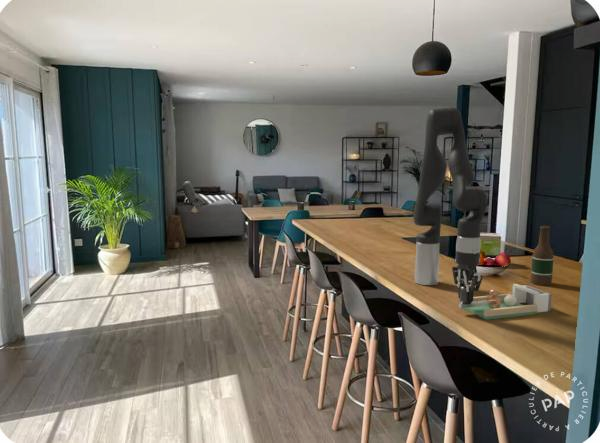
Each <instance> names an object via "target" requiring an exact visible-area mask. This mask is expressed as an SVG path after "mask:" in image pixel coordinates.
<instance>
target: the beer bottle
mask: <svg viewBox="0 0 600 443" xmlns="http://www.w3.org/2000/svg"><path fill="white" fill-rule="evenodd" d="M539 229H540V231H539V237H538V243H537V246H536V247H535V248H534V249H533V252H532V256H531V257H532V258H531V270H530V271H531V272H530V282H531V284H533V285H537V286H541V287H543V286H544V287H545V286H547V287H548V286H551V285H552V283H553V270H554V257H555V256H554V250H553V249H552V248H551V246H550V230H551V226H549V225H542V226H540V227H539Z"/></svg>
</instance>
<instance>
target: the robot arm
mask: <svg viewBox="0 0 600 443" xmlns="http://www.w3.org/2000/svg"><path fill="white" fill-rule="evenodd" d="M425 125H426V126H425V138H424V139H425V140H424V149H423V156H422V162H421V167H420V174H419V184H418V191H417V196H416V199H415V204H414V209H413V215H412V218H413V222H414V224H415V225H416V226H419V227H421V226H422V227H423V226H424V227H430V228H429V229H428V230H426V231H424V232H422V233H421V232H420V233H419V234H417V235H416V247H415V249H416V250H415V253H416V255H415V259H414V282H415V283H416V284H417V285H422V286H436V285H438V284H439V266H440V243H441V240H440V239H441V238H440V237H441V226H442V215H443V214H442V213H443V211H442V206H441V205H440V203H436V202H435V203H431V202H429V203H427V202H428V200H429V199H430V197H431V196H432V195H433V194H434V193H435V192H436V191H437V190H438V189H439V188H440V187H441V186H442V185H443V183H444V182H445V180H446V173H447V168H448V171H449V174H450V177H451V181H452V202H453V203H452V204H453V205H454V207H455V208H456V210H458V212H459V211H460V212H469V214H468V215H466V216H465V217H462V218H460V219H459V220H458V223H457V236H456V237H457V238H456V240H455V241H456V242H455V263H456V264H457V266H452V267H451V270H452V277H453V283H454V285H456V286H457V288H458V294H457V295H458V297H457V298H458V299H459V300H460V286H462V285H466V289H467V291H466V302H468V303H471V302H473V297H474V293H475V292H479V290H480V287H481V285H482V282H483V278H484V277H483V275H482V274H479V273H478V270H477V266H479V262H480V233H481V225H482V221H483V219H484V216H485V212H486V210H487V206H488V203H489V201H488V195H487V193H486V191H484V190H483V189H482V188H481V189H480V188H472V189H470V188H469V189H467V188H466V187H468V186H470V185H472V184H473V183H474V182H475V180H476V179H475V175H474V170H473V167H472V164H471V162H470V159H469V154H468V150H467V142H466V136H465V135H466V134H465V130H464V123H463V119H462V115H461V112H460V111H459V109H458V108H457V107H454V106H453V107H452V106H451V107H442V108H441V107H440V108H433V109H430V111H429V112H428V114H427V117H426V122H425ZM447 135H452V139H453V145H452V148H451V151H450V154H449V156H448V161H446V159H445V157H444V155H443V153H442V152H441V151H440V149H439V146H438V137H439V136H447ZM470 286H471V287H470Z"/></svg>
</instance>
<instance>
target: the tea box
mask: <svg viewBox="0 0 600 443" xmlns="http://www.w3.org/2000/svg"><path fill="white" fill-rule="evenodd" d="M501 244H502V236H501V235H499V233H495V232H480V249H482V250H483V251H484V252H485V255H486V257H490V258H495V257H496V256H498V255H499V254H500V255H501V246H502V245H501Z"/></svg>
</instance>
